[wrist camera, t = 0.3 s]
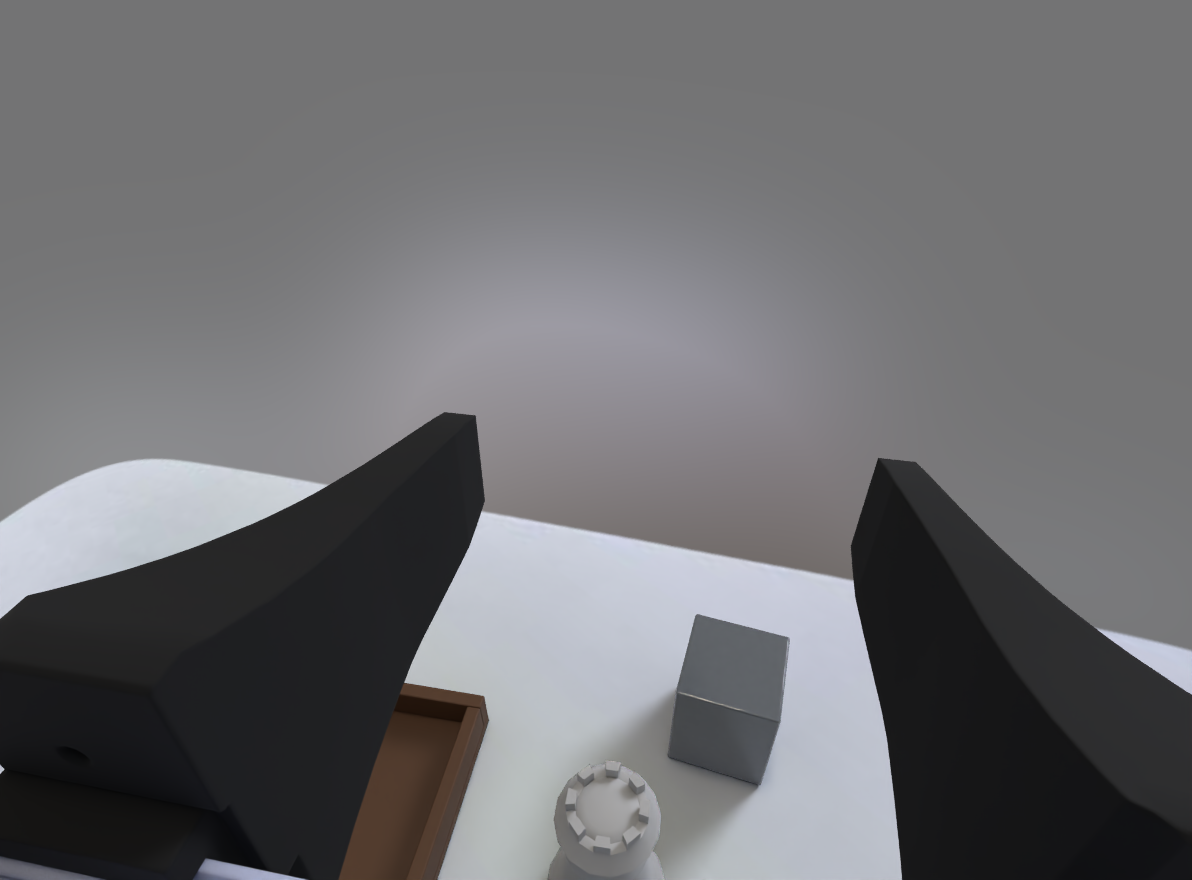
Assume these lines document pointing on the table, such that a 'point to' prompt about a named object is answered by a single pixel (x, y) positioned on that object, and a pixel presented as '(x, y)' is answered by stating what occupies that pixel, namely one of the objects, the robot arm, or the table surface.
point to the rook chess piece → (607, 826)
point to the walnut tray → (416, 785)
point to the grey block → (729, 698)
